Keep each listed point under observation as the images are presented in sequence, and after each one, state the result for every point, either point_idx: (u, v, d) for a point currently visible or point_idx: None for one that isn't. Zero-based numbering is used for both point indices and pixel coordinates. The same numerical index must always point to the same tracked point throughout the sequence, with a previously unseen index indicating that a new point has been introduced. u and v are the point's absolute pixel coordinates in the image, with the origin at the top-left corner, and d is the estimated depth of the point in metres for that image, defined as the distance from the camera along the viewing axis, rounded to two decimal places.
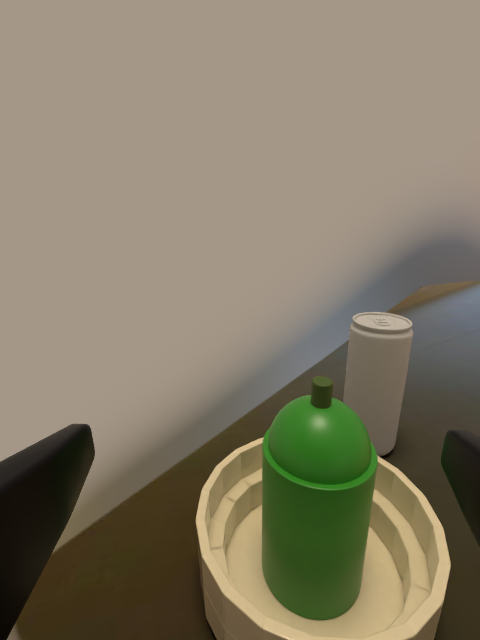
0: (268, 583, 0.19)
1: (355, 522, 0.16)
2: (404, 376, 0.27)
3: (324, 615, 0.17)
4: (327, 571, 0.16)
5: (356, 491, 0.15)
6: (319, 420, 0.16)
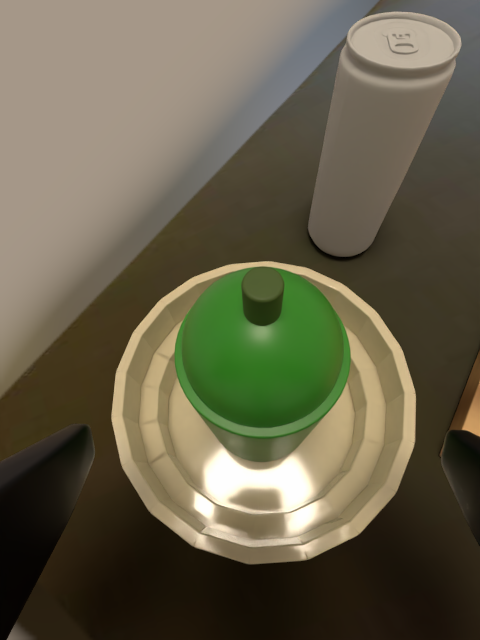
0: None
1: (308, 432, 0.12)
2: (414, 152, 0.17)
3: (271, 460, 0.17)
4: (272, 454, 0.14)
5: (311, 425, 0.10)
6: (256, 352, 0.09)
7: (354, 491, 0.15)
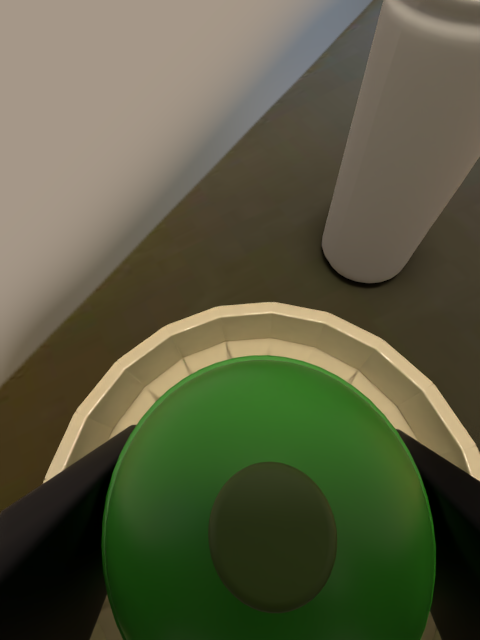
0: None
1: None
2: None
3: None
4: None
5: None
6: None
7: None
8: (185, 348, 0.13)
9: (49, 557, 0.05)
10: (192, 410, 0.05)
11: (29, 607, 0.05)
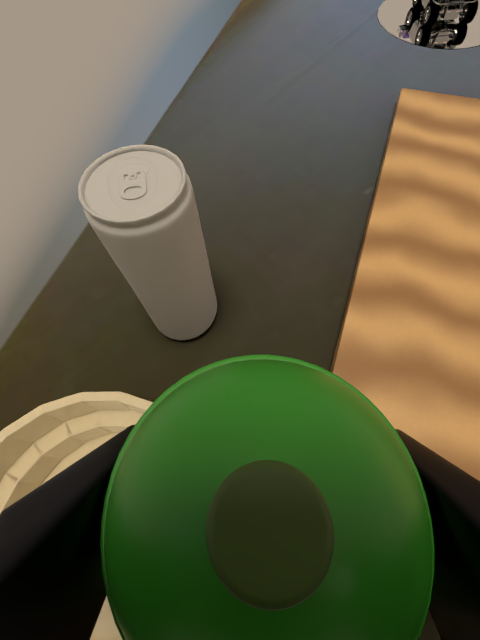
0: None
1: None
2: (197, 260, 0.17)
3: None
4: None
5: None
6: None
7: None
8: (29, 437, 0.18)
9: (49, 557, 0.05)
10: (190, 409, 0.05)
11: (29, 607, 0.05)
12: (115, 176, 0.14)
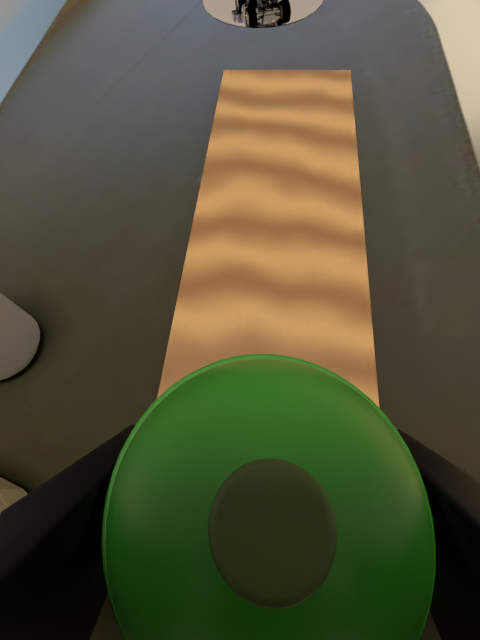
0: None
1: None
2: None
3: None
4: None
5: None
6: None
7: None
8: None
9: (49, 557, 0.05)
10: (192, 408, 0.05)
11: (29, 607, 0.05)
12: None
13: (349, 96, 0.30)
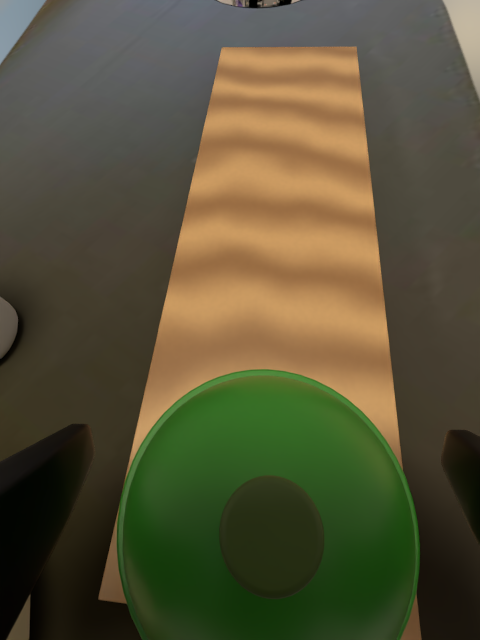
0: None
1: None
2: None
3: None
4: None
5: None
6: (256, 634, 0.04)
7: None
8: None
9: None
10: (200, 425, 0.05)
11: None
12: None
13: (355, 73, 0.28)
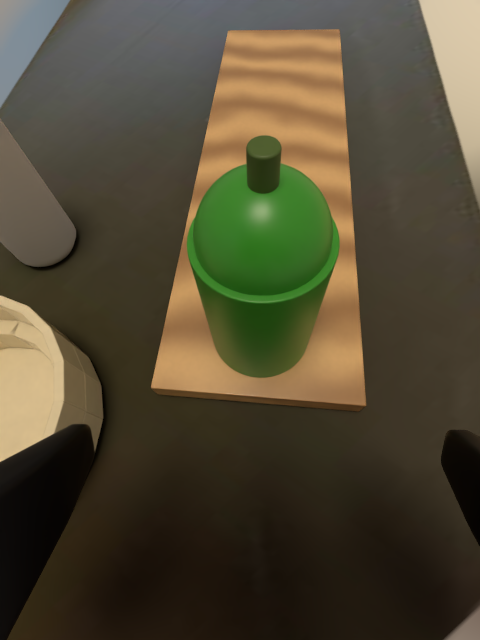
0: (219, 354, 0.20)
1: (303, 319, 0.14)
2: (12, 162, 0.19)
3: (270, 374, 0.19)
4: (272, 354, 0.16)
5: (305, 297, 0.12)
6: (258, 215, 0.10)
7: None
8: None
9: None
10: (232, 169, 0.12)
11: None
12: None
13: (338, 50, 0.34)
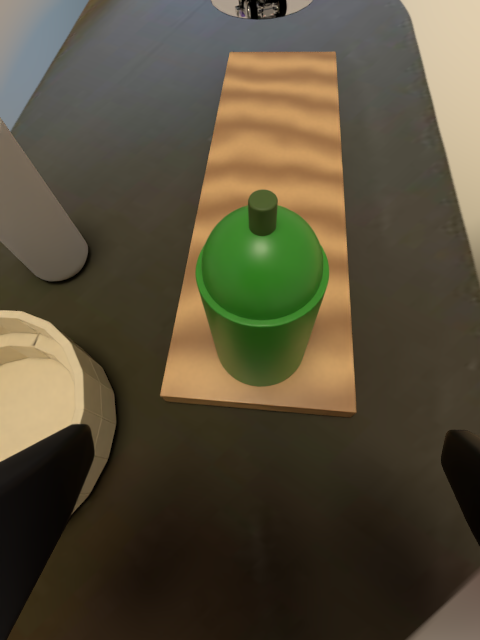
0: (222, 365, 0.21)
1: (297, 337, 0.15)
2: (33, 190, 0.21)
3: (269, 384, 0.21)
4: (270, 367, 0.18)
5: (299, 320, 0.14)
6: (258, 254, 0.12)
7: None
8: None
9: None
10: (235, 211, 0.13)
11: None
12: None
13: (334, 72, 0.36)
